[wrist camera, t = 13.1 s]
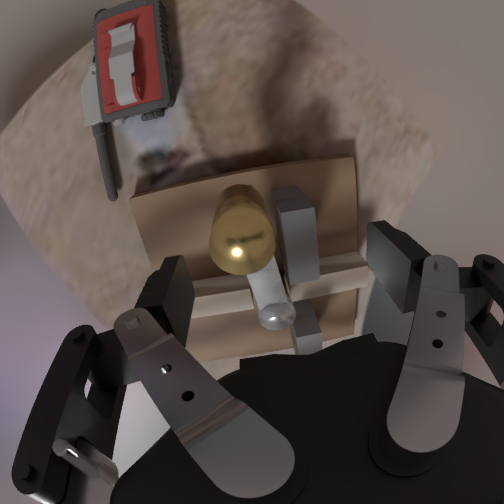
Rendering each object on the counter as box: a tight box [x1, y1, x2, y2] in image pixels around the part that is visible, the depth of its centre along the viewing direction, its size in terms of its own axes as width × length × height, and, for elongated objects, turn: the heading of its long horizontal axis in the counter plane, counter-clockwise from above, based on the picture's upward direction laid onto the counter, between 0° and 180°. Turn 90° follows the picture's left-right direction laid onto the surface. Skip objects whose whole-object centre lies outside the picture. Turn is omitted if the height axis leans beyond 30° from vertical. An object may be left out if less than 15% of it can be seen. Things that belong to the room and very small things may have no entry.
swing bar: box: [209, 184, 296, 330], centre depth 19 cm, size 13×3×7 cm, turn 17°
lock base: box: [129, 154, 369, 362], centre depth 27 cm, size 22×21×8 cm
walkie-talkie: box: [81, 0, 175, 201], centre depth 19 cm, size 9×4×20 cm
